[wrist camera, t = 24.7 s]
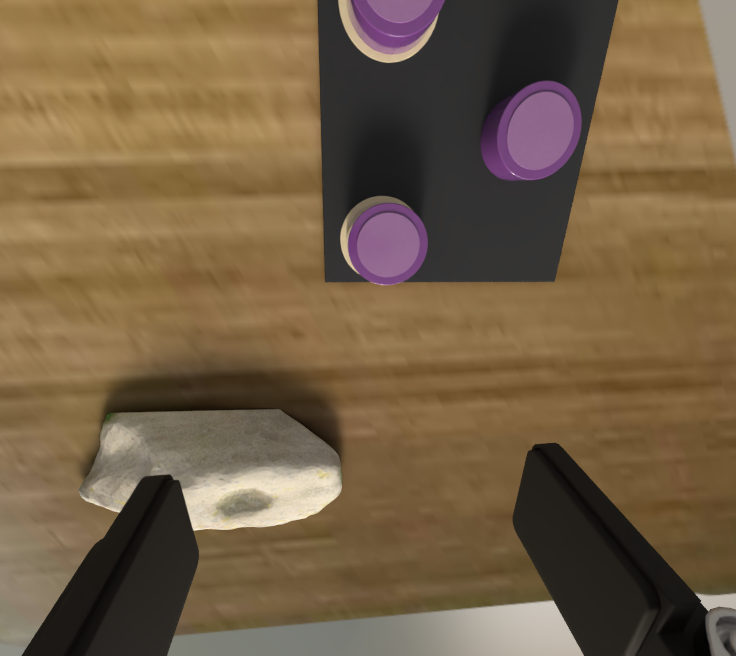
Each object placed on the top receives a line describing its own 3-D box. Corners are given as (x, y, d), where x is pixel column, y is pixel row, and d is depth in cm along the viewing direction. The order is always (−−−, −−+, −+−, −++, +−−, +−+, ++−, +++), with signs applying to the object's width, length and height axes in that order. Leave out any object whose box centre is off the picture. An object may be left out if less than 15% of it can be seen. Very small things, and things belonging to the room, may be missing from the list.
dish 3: (475, 180, 29) (491, 178, 26) (486, 90, 27) (506, 77, 23) (546, 181, 30) (571, 180, 26) (564, 94, 27) (593, 81, 24)
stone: (363, 444, 34) (335, 546, 39) (350, 400, 40) (328, 493, 46) (17, 438, 26) (42, 566, 31) (70, 384, 32) (83, 499, 38)
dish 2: (346, 276, 31) (347, 285, 28) (346, 200, 28) (347, 201, 25) (416, 276, 31) (425, 285, 28) (421, 202, 29) (431, 203, 26)
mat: (325, 281, 31) (325, 282, 31) (315, -77, 22) (315, -83, 22) (552, 280, 33) (555, 281, 33) (626, -48, 24) (631, -52, 24)
